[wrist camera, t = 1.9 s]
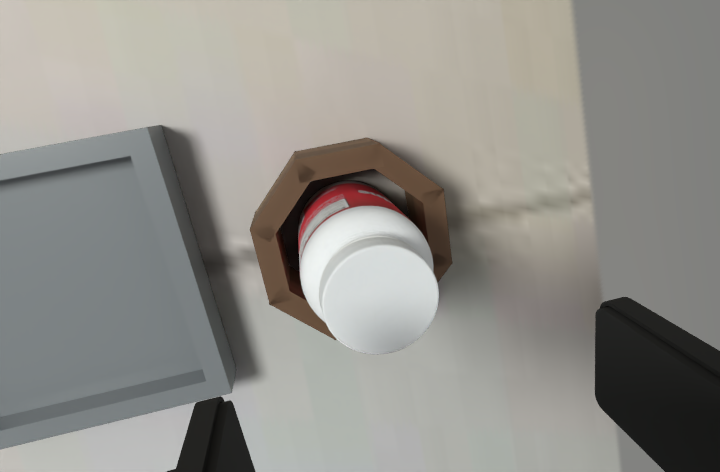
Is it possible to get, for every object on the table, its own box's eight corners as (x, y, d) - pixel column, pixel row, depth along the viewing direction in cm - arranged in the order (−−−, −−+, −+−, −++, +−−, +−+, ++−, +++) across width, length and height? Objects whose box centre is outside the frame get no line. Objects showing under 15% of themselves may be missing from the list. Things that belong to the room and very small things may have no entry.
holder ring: (436, 284, 29) (458, 310, 26) (283, 320, 28) (282, 352, 25) (416, 127, 26) (437, 131, 22) (242, 161, 25) (233, 171, 21)
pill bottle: (413, 234, 28) (485, 311, 18) (337, 291, 29) (365, 399, 18) (356, 157, 26) (400, 192, 16) (276, 219, 27) (267, 294, 16)
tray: (236, 369, 29) (231, 393, 27) (-18, 430, 27) (-47, 460, 25) (161, 125, 24) (147, 127, 22) (-154, 182, 23) (-206, 191, 20)
